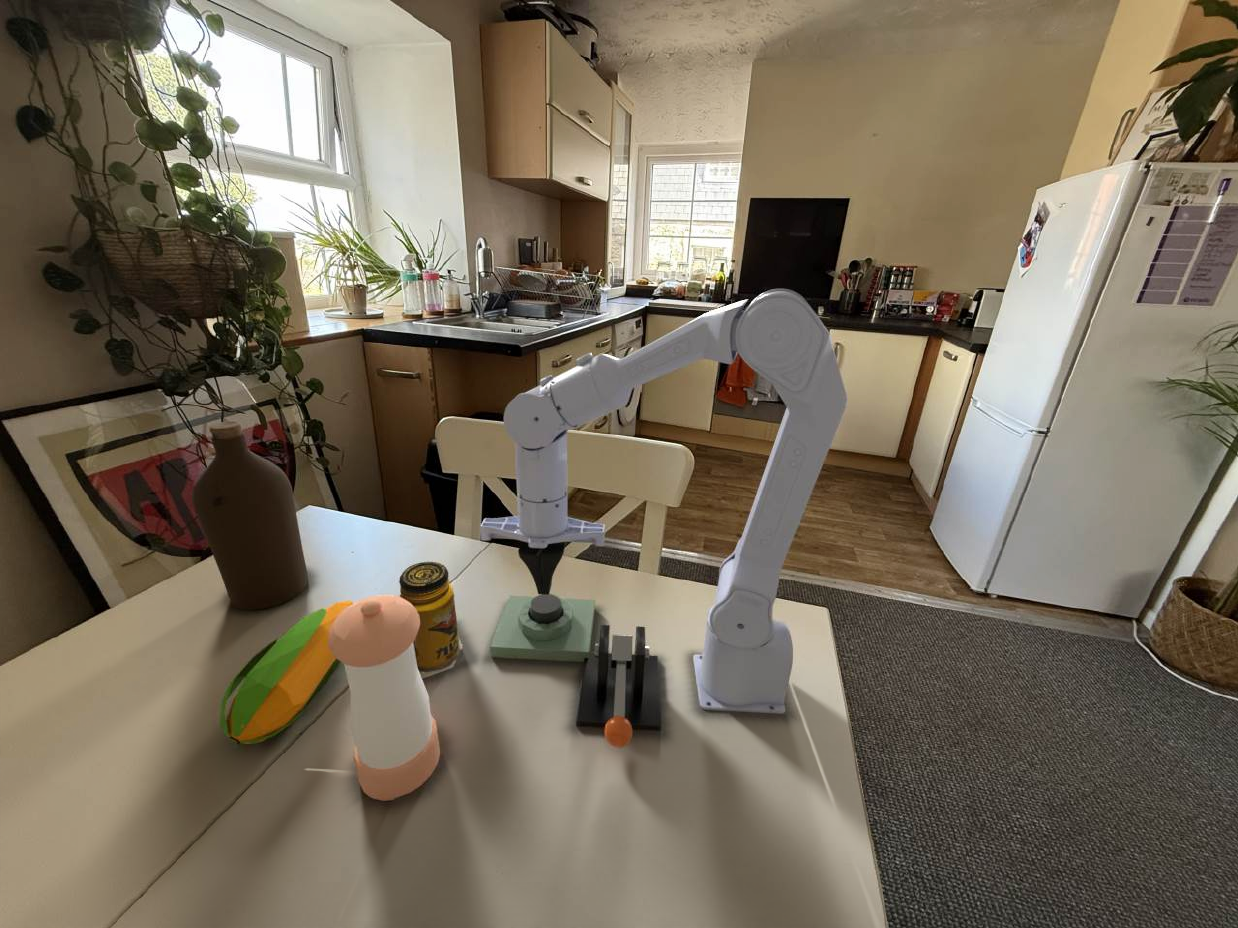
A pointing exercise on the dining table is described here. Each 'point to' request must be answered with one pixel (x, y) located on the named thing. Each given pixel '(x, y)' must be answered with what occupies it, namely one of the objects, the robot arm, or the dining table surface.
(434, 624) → the condiment
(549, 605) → the button
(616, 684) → the switch lever
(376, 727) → the pepper shaker
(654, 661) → the switch bracket
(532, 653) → the block
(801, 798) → the dining table surface
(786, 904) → the dining table surface
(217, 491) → the olive oil
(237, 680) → the corn
